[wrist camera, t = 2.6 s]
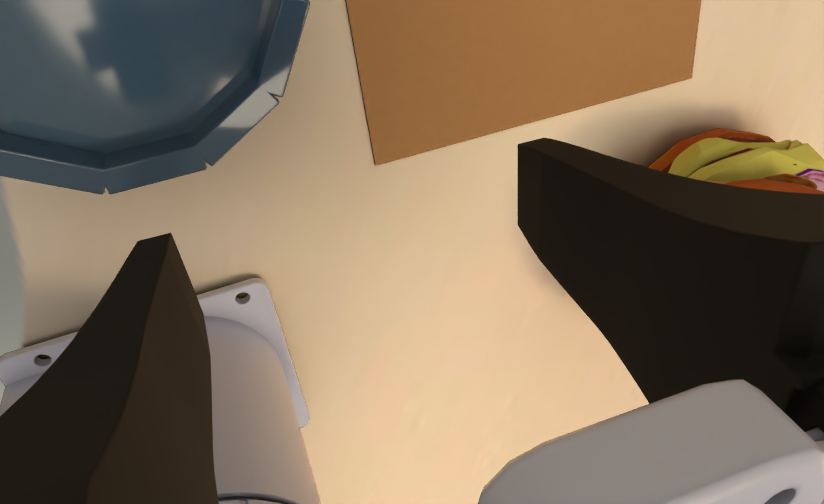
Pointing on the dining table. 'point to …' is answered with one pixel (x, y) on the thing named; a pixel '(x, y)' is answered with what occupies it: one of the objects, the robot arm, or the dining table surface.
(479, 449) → the dining table surface
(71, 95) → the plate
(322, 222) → the dining table surface
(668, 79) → the placemat
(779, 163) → the cheeseburger
